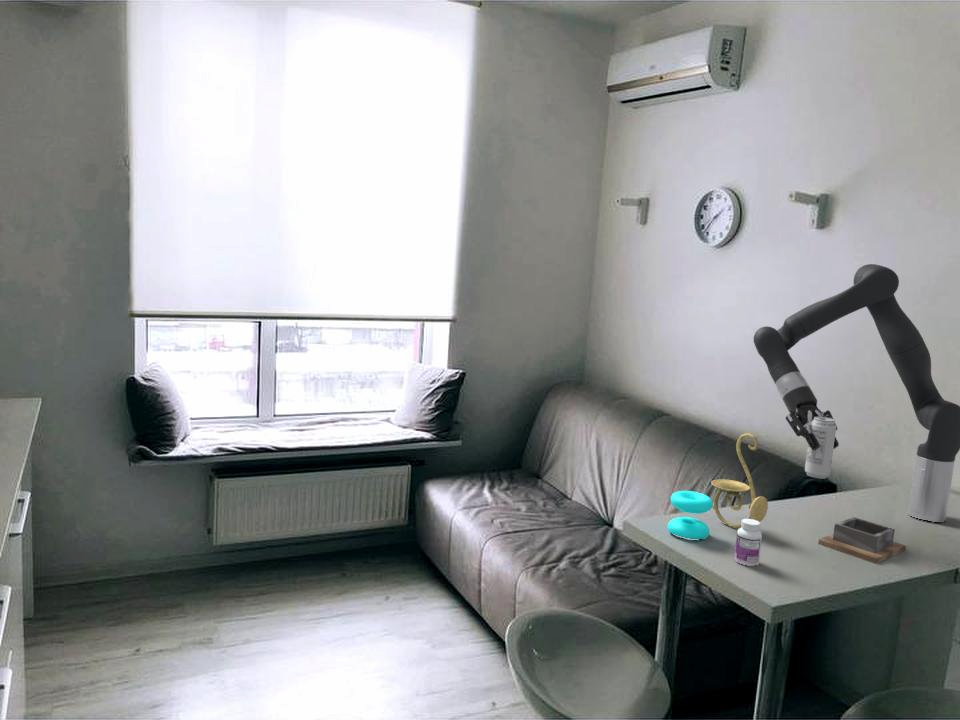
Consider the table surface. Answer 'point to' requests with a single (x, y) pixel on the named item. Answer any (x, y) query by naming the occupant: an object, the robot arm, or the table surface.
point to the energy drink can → (821, 448)
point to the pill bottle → (748, 543)
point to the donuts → (690, 504)
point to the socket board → (863, 540)
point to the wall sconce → (741, 489)
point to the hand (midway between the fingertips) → (826, 447)
